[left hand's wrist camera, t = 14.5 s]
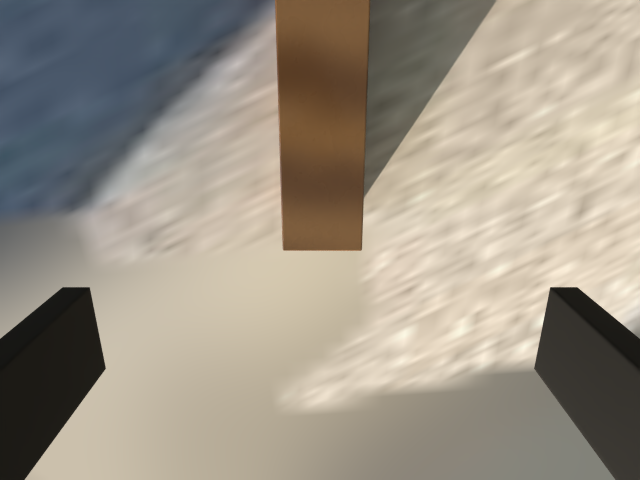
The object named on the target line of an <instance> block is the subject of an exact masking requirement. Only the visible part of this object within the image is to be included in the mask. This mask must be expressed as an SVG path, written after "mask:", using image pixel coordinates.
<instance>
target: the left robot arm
mask: <svg viewBox="0 0 640 480" xmlns="http://www.w3.org/2000/svg"><path fill="white" fill-rule="evenodd" d="M105 369H106V368H105V363H104V357H103V352H102V348H101V343H100V338H99V332H98V327H97V322H96V317H95V312H94V307H93V302H92V297H91V292H90V288H89V287H63V288H61V289H60V290H59V291H58V292H57V293H55V294H54V295H53V296H52V297H51V298H49V299H48V300H47V301H46V302H44V303H43V304H42V305H41V306H40V307H38V308H37V309H36V310H35V311H34V312H32V313H31V314H30V315H29V316H27V317H26V318H25V319H24V320H23V321H21V322H20V323H19V324H18V325H17V326H15V327H14V328H13V329H12V330H11V331H9V332H8V333H7V334H6V335H4V336H3V337H2V338H1V339H0V480H25V478H26V477H27V475H28V474H29V473H30V471H31V470H32V469H33V467H34V466H35V465H36V463H37V462H38V460H39V459H40V458H41V456H42V455H43V454H44V452H45V451H46V450H47V448H48V447H49V445H50V444H51V443H52V441H53V440H54V439H55V437H56V436H57V435H58V433H59V432H60V430H61V429H62V428H63V426H64V425H65V424H66V422H67V421H68V419H69V418H70V417H71V415H72V414H73V413H74V411H75V410H76V409H77V407H78V406H79V404H80V403H81V402H82V400H83V399H84V398H85V396H86V395H87V393H88V392H89V391H90V389H91V388H92V387H93V385H94V384H95V383H96V381H97V380H98V378H99V377H100V376H101V374H102V373H103V372H104V370H105ZM534 369H535V370H536V372H537V373H538V374H539V376H540V377H541V378H542V380H543V381H544V383H545V384H546V385H547V387H548V388H549V389H550V391H551V392H552V393H553V395H554V396H555V397H556V399H557V400H558V402H559V403H560V404H561V406H562V407H563V409H564V410H565V411H566V413H567V414H568V415H569V417H570V418H571V419H572V421H573V422H574V424H575V425H576V426H577V428H578V429H579V430H580V432H581V433H582V435H583V436H584V437H585V439H586V440H587V441H588V443H589V444H590V445H591V447H592V448H593V450H594V451H595V452H596V454H597V455H598V456H599V458H600V459H601V460H602V462H603V463H604V465H605V466H606V467H607V469H608V470H609V471H610V473H611V474H612V476H613V477H614V478H615V480H640V339H639V338H638V337H637V336H636V335H634V334H633V333H632V332H631V331H630V330H628V329H627V328H626V327H625V326H623V325H622V324H621V323H620V322H619V321H617V320H616V319H615V318H614V317H613V316H611V315H610V314H609V313H608V312H606V311H605V310H604V309H603V308H602V307H600V306H599V305H598V304H597V303H596V302H594V301H593V300H592V299H591V298H589V297H588V296H587V295H586V294H585V293H583V292H582V291H581V290H580V289H579V288H577V287H550V292H549V297H548V302H547V307H546V312H545V317H544V322H543V327H542V332H541V337H540V342H539V347H538V352H537V357H536V363H535V368H534Z"/></svg>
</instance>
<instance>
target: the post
mask: <svg viewBox="0 0 640 480" xmlns="http://www.w3.org/2000/svg"><path fill="white" fill-rule="evenodd" d="M275 9H276V42H277V75H278V108H279V141H280V174H281V207H282V240H283V250H313V251H336V250H337V251H361V250H362V230H363V201H364V171H365V142H366V112H367V83H368V53H369V24H370V0H275Z"/></svg>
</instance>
